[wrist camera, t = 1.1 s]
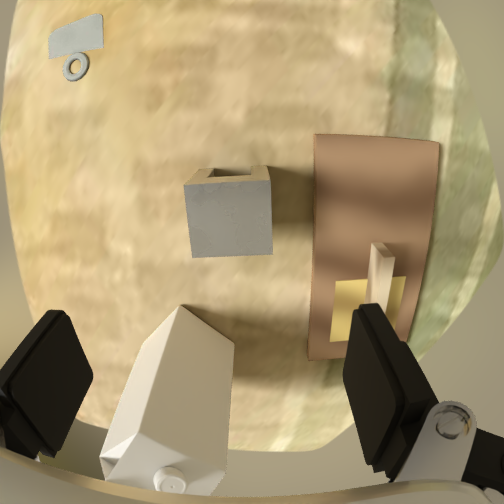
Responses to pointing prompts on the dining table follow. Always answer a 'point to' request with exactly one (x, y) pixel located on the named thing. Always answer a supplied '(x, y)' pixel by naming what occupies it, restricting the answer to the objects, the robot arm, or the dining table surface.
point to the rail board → (368, 232)
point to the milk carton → (174, 411)
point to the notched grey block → (229, 213)
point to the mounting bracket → (77, 43)
